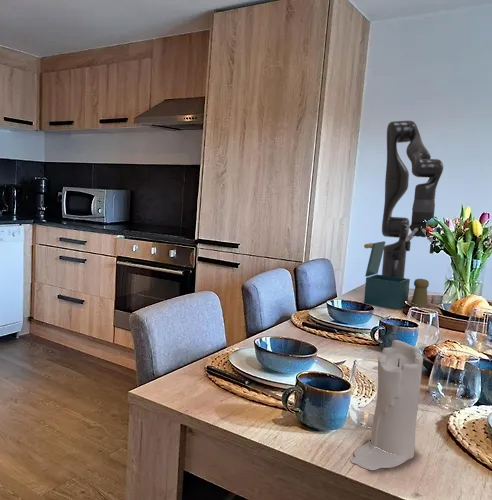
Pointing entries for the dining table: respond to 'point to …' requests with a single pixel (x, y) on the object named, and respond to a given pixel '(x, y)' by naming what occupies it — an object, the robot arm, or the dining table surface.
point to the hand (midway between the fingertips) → (419, 252)
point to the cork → (420, 293)
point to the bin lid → (374, 257)
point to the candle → (394, 408)
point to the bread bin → (386, 291)
